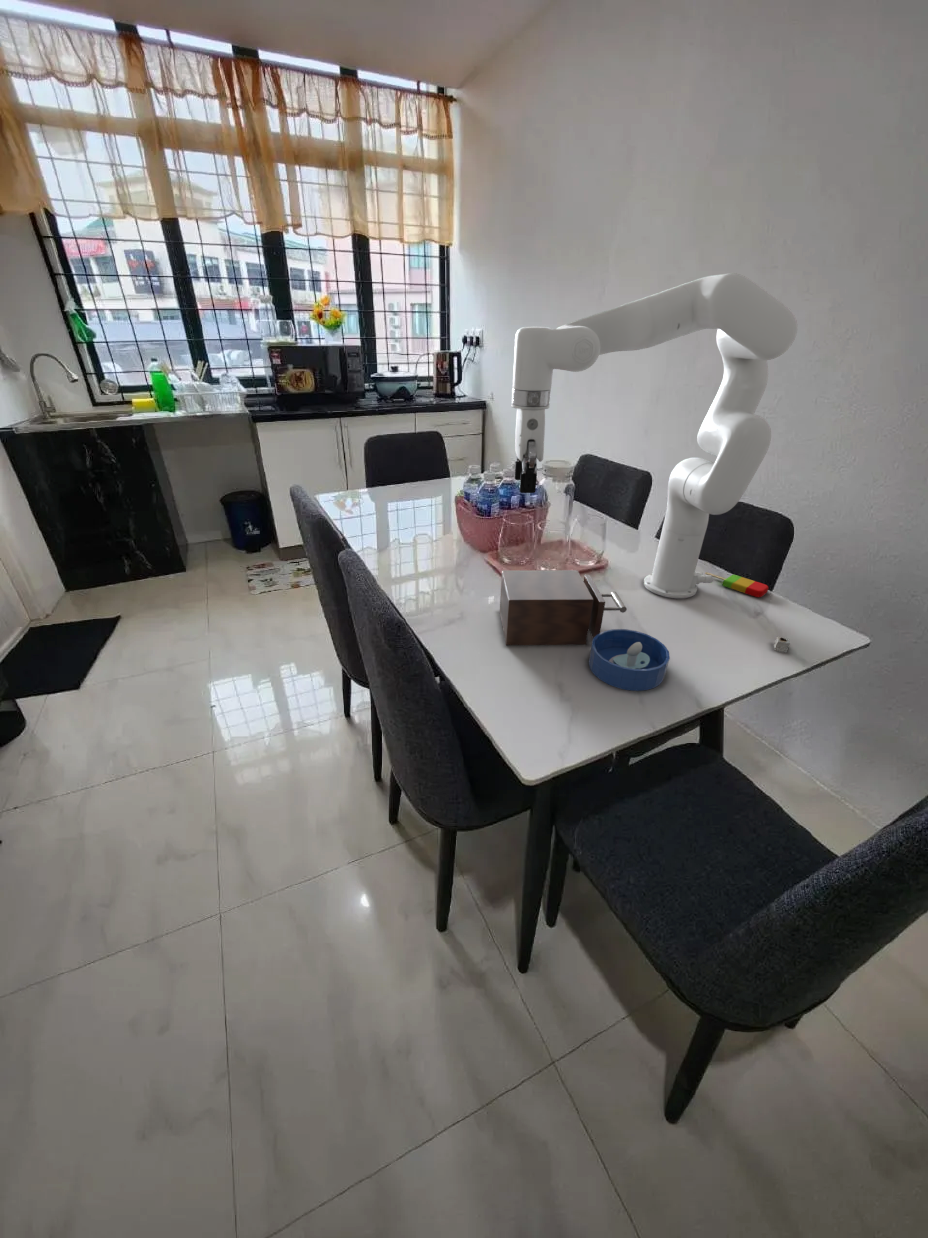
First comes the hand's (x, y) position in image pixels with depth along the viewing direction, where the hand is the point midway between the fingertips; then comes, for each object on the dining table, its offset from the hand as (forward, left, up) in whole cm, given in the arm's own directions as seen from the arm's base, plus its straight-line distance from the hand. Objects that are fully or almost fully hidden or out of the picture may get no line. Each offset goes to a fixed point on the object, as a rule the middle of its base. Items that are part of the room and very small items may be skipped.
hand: (524, 485), depth 107 cm
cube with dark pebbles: (-51, +23, -27) cm, 63 cm away
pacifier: (-17, +29, -27) cm, 43 cm away
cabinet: (-3, +14, -27) cm, 31 cm away
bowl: (-17, +29, -27) cm, 43 cm away
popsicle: (-56, -6, -27) cm, 63 cm away
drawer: (-10, +14, -26) cm, 31 cm away
